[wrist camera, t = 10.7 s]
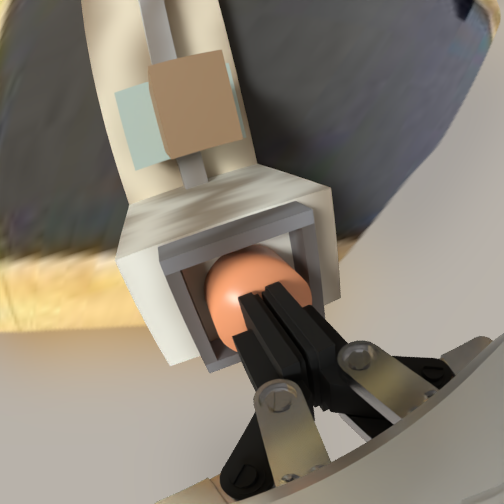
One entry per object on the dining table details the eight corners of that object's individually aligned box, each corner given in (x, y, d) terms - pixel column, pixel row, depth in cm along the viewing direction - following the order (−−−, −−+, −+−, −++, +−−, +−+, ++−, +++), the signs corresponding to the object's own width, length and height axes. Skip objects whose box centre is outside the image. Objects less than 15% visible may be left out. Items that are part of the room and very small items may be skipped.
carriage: (216, 72, 18) (264, 33, 10) (232, 136, 20) (289, 140, 12) (120, 99, 16) (96, 72, 8) (138, 165, 19) (127, 187, 11)
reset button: (279, 232, 13) (306, 253, 11) (292, 304, 15) (315, 331, 13) (191, 263, 12) (202, 292, 10) (218, 333, 14) (231, 366, 12)
